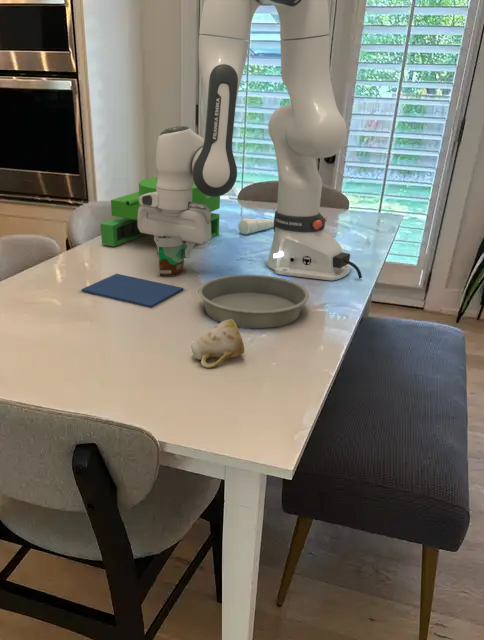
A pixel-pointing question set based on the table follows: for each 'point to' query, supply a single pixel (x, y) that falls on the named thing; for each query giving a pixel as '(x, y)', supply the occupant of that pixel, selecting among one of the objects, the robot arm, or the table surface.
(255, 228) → the unicorn horn
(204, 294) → the cake pan
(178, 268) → the food container
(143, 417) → the table surface
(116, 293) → the mat
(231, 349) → the mug
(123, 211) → the tank
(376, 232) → the table surface
